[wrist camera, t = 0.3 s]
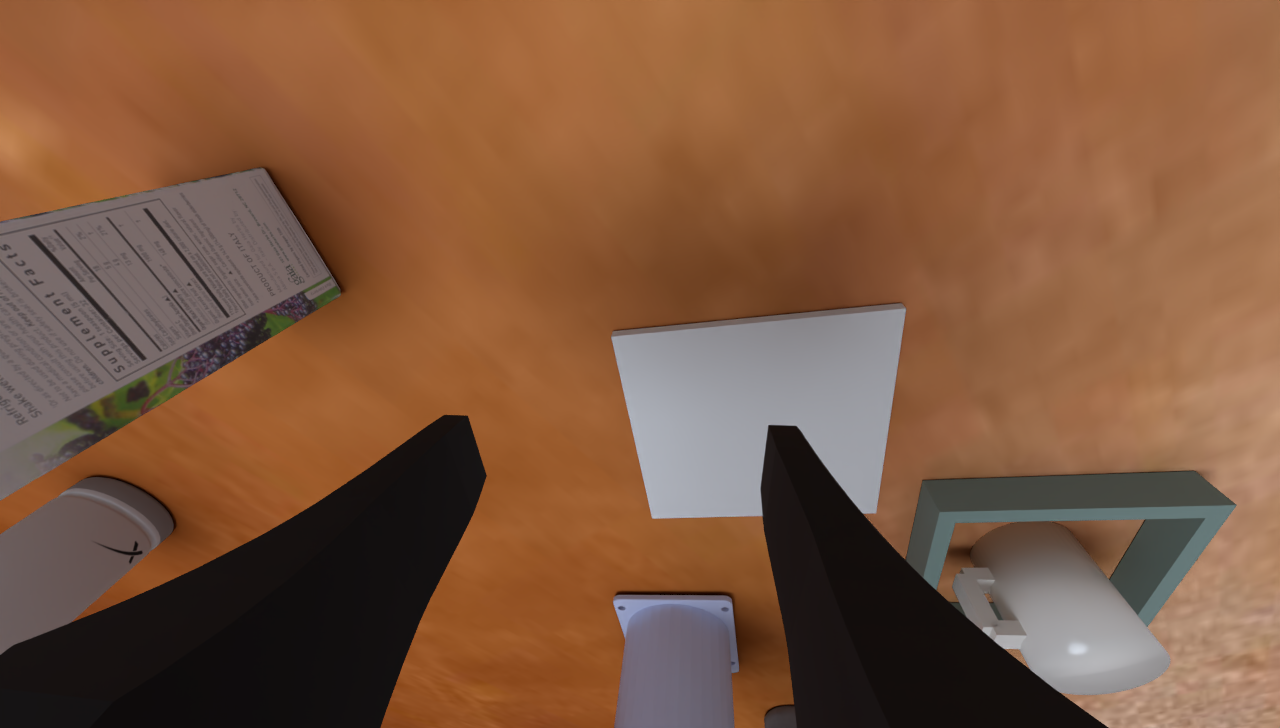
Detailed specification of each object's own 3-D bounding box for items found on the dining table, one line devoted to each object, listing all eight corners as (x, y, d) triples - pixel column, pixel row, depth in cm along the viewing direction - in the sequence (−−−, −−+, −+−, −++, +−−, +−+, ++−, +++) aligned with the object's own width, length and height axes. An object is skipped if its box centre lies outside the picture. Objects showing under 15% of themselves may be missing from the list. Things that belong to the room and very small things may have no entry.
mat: (873, 505, 25) (875, 513, 24) (653, 511, 27) (652, 518, 27) (901, 303, 19) (906, 308, 18) (613, 331, 21) (611, 336, 20)
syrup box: (250, 314, 23) (-275, 603, 10) (157, 190, 20) (-730, 393, 7) (347, 293, 21) (-121, 593, 9) (264, 157, 18) (-592, 336, 6)
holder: (1106, 611, 28) (1132, 647, 26) (895, 609, 30) (907, 642, 28) (1194, 471, 22) (1236, 505, 20) (922, 480, 24) (939, 512, 22)
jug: (1088, 519, 24) (1191, 639, 19) (1058, 577, 26) (1142, 697, 21) (947, 521, 25) (1009, 635, 20) (932, 577, 28) (984, 691, 23)
